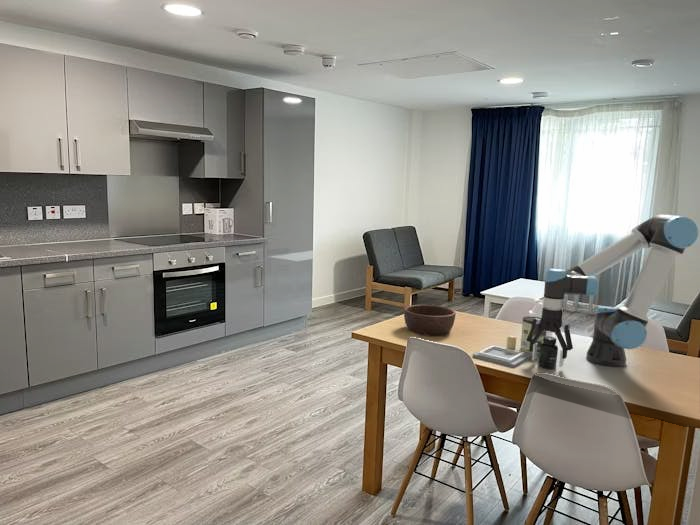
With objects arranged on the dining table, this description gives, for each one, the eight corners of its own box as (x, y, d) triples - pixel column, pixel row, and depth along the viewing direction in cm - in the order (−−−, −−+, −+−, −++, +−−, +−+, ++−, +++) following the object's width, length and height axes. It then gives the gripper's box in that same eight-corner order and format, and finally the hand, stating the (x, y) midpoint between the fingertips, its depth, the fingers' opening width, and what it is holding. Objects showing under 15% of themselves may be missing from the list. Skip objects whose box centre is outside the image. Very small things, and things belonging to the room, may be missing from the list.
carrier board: (533, 356, 224) (534, 340, 223) (514, 367, 209) (515, 350, 208) (493, 347, 236) (494, 331, 235) (472, 356, 220) (473, 340, 219)
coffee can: (547, 350, 235) (550, 319, 233) (540, 355, 226) (543, 323, 225) (524, 345, 241) (527, 315, 239) (516, 350, 233) (519, 318, 231)
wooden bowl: (392, 328, 260) (393, 308, 259) (425, 321, 277) (426, 302, 275) (432, 340, 242) (433, 319, 240) (464, 332, 259) (466, 312, 257)
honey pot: (525, 338, 252) (529, 301, 249) (522, 331, 264) (525, 296, 262) (554, 341, 250) (557, 303, 247) (549, 334, 262) (552, 298, 260)
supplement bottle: (553, 371, 207) (556, 341, 205) (535, 367, 211) (538, 337, 209) (558, 366, 212) (561, 337, 211) (541, 362, 216) (543, 334, 215)
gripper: (585, 311, 204) (579, 367, 207) (528, 301, 218) (523, 354, 221) (579, 315, 198) (573, 372, 201) (521, 304, 213) (516, 357, 216)
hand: (547, 362), depth 211 cm, fingers open, 10 cm apart
